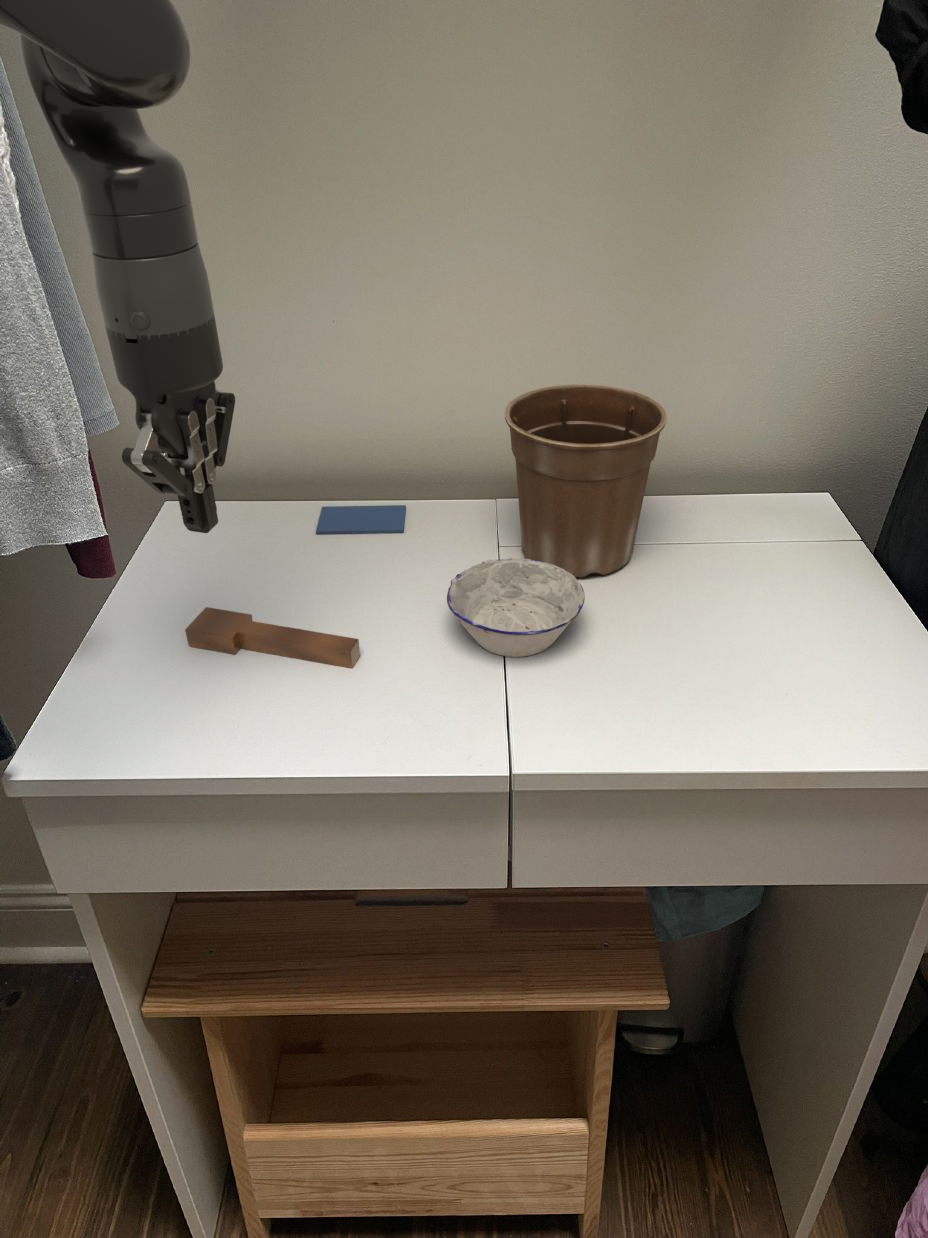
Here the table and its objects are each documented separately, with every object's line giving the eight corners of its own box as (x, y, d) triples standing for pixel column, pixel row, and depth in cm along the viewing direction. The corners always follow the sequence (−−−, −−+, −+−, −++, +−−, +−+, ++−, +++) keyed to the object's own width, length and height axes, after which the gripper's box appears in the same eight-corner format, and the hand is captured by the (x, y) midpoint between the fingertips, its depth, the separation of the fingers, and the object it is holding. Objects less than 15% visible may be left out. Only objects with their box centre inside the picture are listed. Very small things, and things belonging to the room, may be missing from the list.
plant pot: (533, 504, 113) (537, 373, 104) (667, 529, 107) (683, 393, 98) (480, 571, 101) (479, 429, 92) (628, 603, 95) (642, 456, 86)
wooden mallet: (364, 649, 90) (362, 632, 88) (348, 675, 86) (346, 657, 85) (209, 623, 94) (205, 606, 93) (188, 646, 91) (184, 629, 89)
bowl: (444, 672, 87) (442, 629, 84) (452, 595, 97) (451, 555, 94) (586, 674, 86) (589, 631, 83) (578, 597, 96) (581, 556, 94)
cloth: (405, 507, 113) (405, 504, 113) (403, 532, 108) (403, 529, 108) (322, 509, 113) (321, 506, 113) (316, 534, 108) (315, 531, 108)
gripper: (162, 283, 73) (202, 486, 83) (55, 339, 62) (115, 563, 72) (250, 290, 71) (280, 496, 81) (155, 348, 61) (202, 577, 70)
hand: (202, 527), depth 77 cm, fingers closed
